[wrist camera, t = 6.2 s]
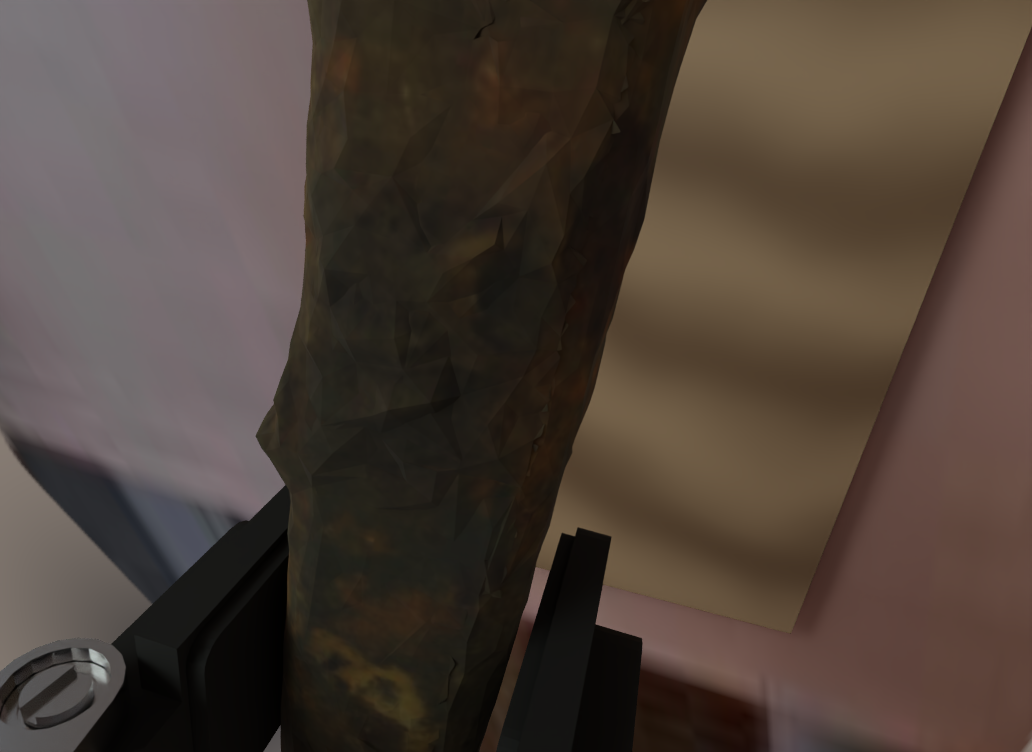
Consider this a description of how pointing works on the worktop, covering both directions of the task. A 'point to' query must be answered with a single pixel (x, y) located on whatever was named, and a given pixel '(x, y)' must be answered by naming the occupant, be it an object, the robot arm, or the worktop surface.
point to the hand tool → (449, 337)
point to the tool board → (777, 286)
